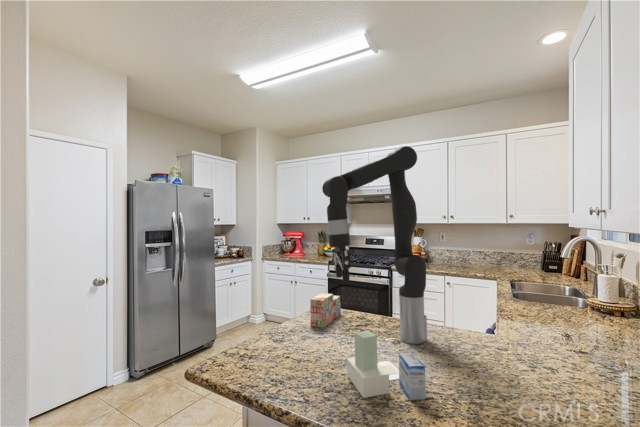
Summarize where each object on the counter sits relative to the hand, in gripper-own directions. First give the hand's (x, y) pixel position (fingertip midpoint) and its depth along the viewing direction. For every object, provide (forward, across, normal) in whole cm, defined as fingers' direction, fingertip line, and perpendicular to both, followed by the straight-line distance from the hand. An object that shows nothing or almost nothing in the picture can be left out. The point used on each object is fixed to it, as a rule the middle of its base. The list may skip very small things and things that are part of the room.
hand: (342, 278), depth 104 cm
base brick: (+27, -19, +1) cm, 33 cm away
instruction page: (+27, -14, -7) cm, 31 cm away
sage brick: (+22, -19, +1) cm, 29 cm away
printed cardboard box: (+26, +38, -1) cm, 46 cm away
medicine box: (+28, -26, -10) cm, 39 cm away
